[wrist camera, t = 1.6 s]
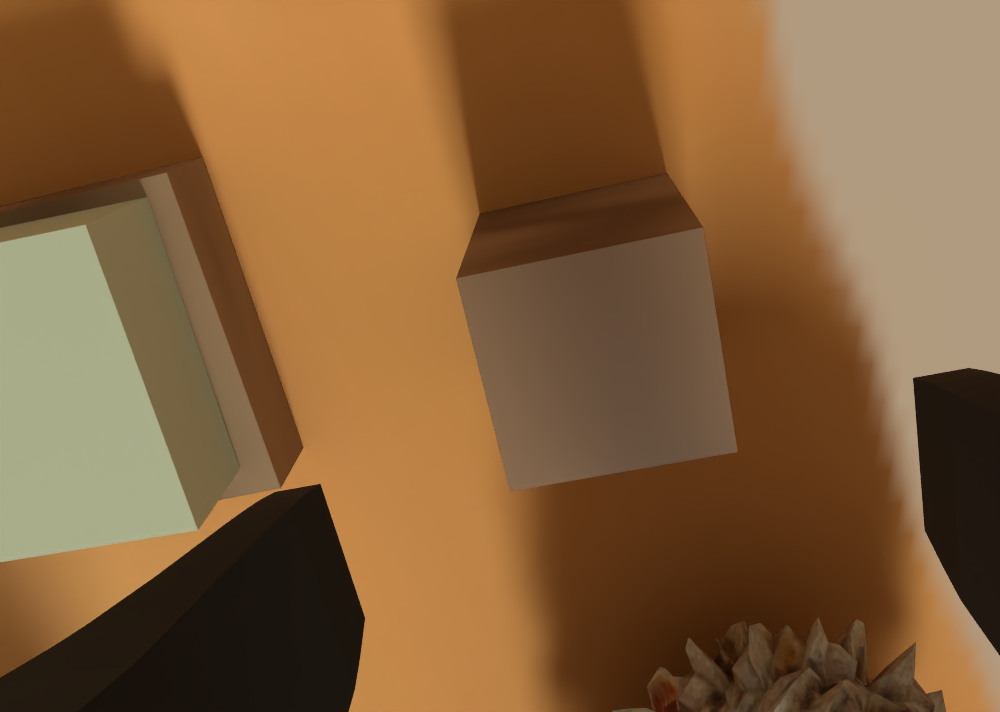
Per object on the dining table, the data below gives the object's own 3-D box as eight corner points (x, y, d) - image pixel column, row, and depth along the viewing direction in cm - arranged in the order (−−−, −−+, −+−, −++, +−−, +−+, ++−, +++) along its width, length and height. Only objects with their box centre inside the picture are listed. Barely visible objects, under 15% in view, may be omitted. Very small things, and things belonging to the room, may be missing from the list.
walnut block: (520, 382, 21) (510, 491, 16) (479, 213, 19) (456, 278, 15) (695, 349, 20) (737, 451, 16) (666, 173, 19) (703, 227, 14)
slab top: (-13, 511, 20) (-86, 576, 18) (-130, 255, 18) (-229, 290, 16) (240, 469, 20) (197, 530, 17) (147, 197, 18) (85, 224, 15)
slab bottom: (47, 489, 23) (-9, 543, 21) (-76, 224, 21) (-154, 250, 18) (308, 437, 22) (280, 487, 20) (211, 153, 20) (166, 173, 18)
